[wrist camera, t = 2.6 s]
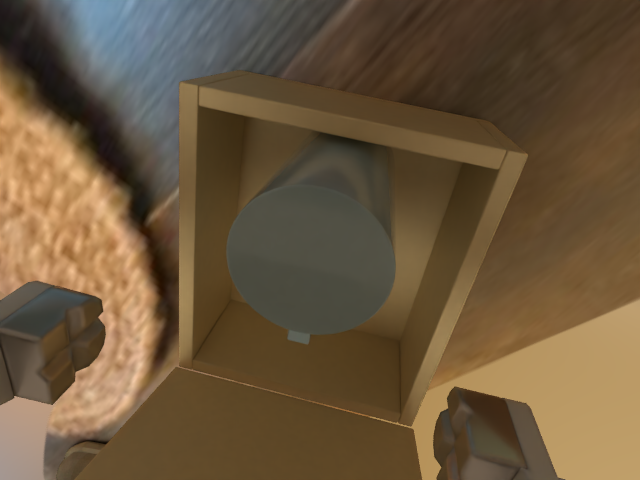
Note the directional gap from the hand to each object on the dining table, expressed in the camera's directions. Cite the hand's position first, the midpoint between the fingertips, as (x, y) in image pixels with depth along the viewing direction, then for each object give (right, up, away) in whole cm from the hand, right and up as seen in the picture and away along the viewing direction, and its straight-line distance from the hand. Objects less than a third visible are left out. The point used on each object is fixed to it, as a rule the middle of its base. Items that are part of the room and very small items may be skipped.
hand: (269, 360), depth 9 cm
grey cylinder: (+3, +7, +13) cm, 15 cm away
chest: (+2, +4, +16) cm, 16 cm away
